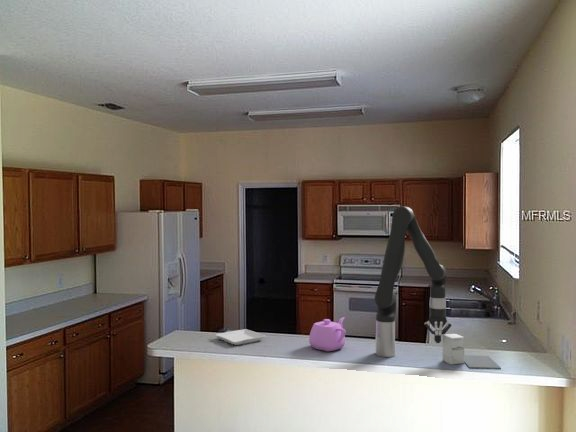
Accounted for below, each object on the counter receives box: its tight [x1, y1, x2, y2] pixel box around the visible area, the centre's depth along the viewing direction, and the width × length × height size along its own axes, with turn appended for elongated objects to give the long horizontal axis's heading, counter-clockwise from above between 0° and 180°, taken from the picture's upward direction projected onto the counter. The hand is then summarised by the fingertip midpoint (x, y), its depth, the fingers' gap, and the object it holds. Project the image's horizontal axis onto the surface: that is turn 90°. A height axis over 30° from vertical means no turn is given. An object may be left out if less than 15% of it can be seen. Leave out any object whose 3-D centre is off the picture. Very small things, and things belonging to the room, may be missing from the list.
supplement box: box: [441, 333, 465, 365], centre depth 233 cm, size 7×7×13 cm
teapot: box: [308, 316, 347, 352], centre depth 258 cm, size 23×21×15 cm
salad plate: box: [214, 328, 266, 346], centre depth 273 cm, size 21×21×3 cm
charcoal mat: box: [463, 354, 502, 370], centre depth 232 cm, size 14×18×1 cm
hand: (437, 342), depth 233 cm, fingers closed
